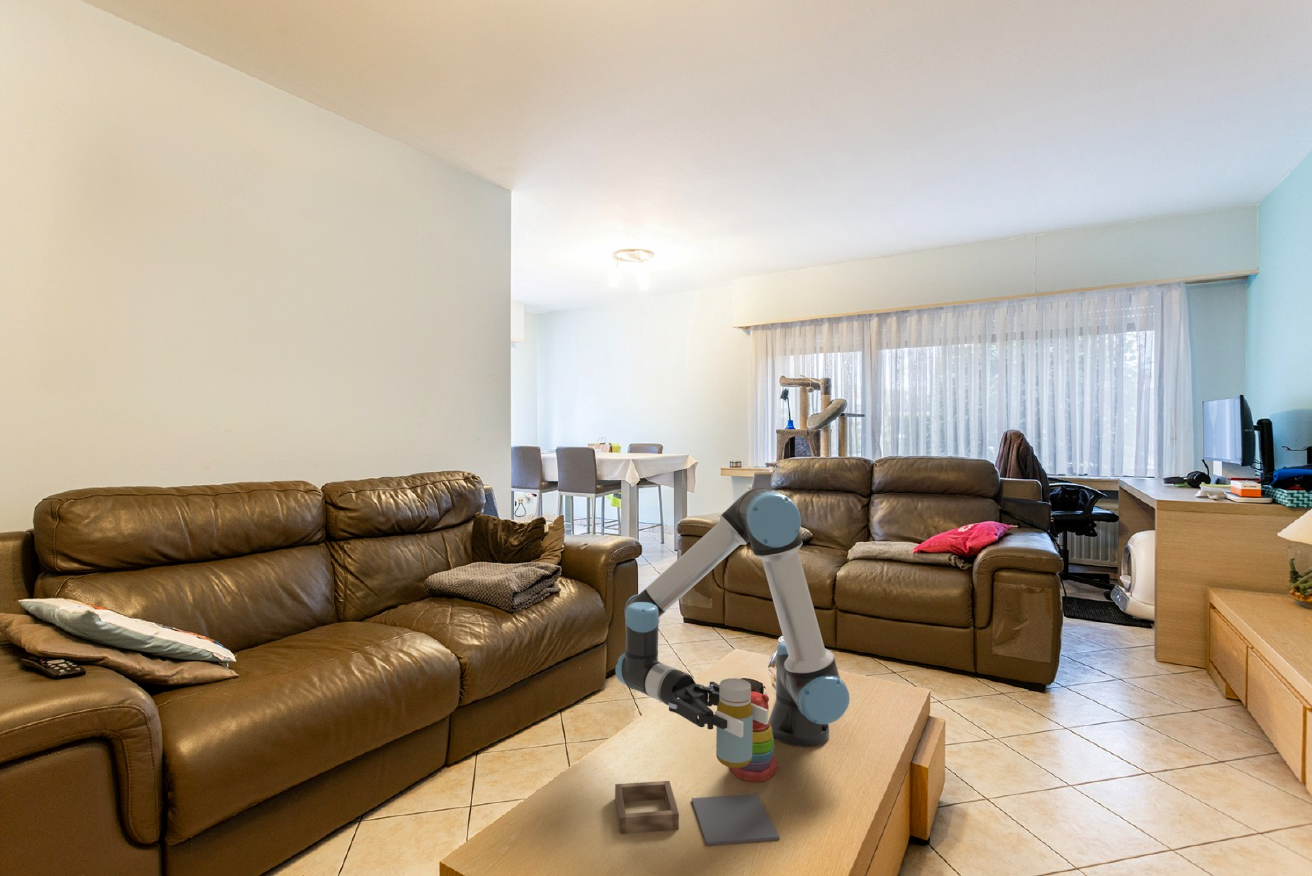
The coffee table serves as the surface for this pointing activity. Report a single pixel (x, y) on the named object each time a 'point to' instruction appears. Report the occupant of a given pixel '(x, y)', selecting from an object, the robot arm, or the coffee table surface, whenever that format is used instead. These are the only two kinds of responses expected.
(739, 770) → the stacking bear
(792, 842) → the coffee table surface
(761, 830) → the charcoal mat
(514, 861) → the coffee table surface
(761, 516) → the robot arm
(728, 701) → the bottle
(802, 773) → the coffee table surface
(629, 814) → the walnut collar
